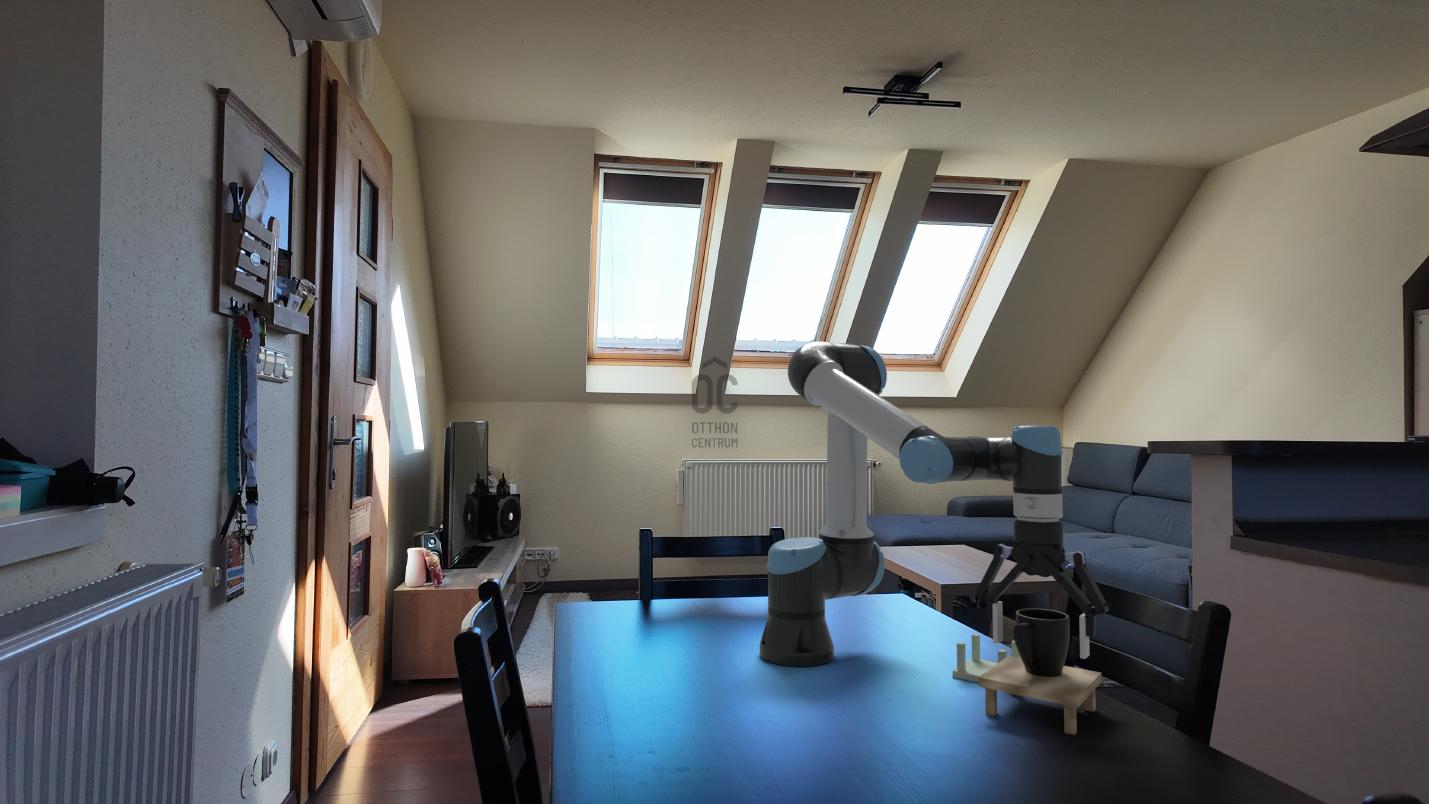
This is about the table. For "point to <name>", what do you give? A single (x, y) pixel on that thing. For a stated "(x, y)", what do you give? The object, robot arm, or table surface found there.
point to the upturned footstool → (977, 660)
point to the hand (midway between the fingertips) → (1040, 648)
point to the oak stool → (1042, 688)
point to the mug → (1042, 640)
